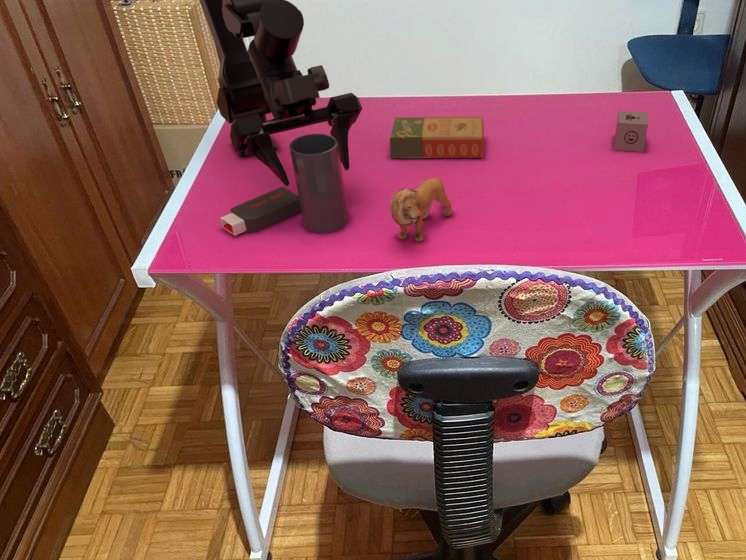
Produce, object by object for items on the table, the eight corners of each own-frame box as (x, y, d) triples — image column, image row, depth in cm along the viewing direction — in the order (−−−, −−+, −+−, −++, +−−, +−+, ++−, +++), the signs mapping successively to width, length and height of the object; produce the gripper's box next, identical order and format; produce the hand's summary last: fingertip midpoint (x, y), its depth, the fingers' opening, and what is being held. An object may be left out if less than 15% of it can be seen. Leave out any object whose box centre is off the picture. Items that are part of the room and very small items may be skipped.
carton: (482, 159, 125) (483, 136, 122) (390, 159, 125) (388, 135, 122) (483, 138, 131) (483, 115, 128) (395, 137, 131) (393, 115, 128)
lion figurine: (419, 257, 102) (415, 201, 96) (385, 250, 103) (379, 194, 98) (457, 207, 112) (456, 154, 106) (426, 201, 114) (423, 148, 108)
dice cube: (614, 137, 131) (618, 111, 127) (642, 139, 130) (647, 112, 127) (614, 150, 127) (618, 122, 124) (643, 151, 126) (648, 124, 123)
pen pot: (301, 213, 111) (287, 137, 103) (344, 207, 113) (334, 131, 104) (306, 236, 106) (292, 157, 98) (351, 229, 108) (341, 151, 100)
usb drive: (305, 209, 112) (302, 193, 110) (238, 239, 106) (234, 223, 104) (286, 198, 115) (282, 182, 113) (219, 226, 109) (215, 210, 107)
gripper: (216, 60, 93) (261, 173, 93) (349, 35, 100) (390, 140, 100) (213, 99, 103) (253, 200, 104) (334, 73, 111) (371, 169, 111)
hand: (318, 177), depth 104 cm, fingers open, 9 cm apart
